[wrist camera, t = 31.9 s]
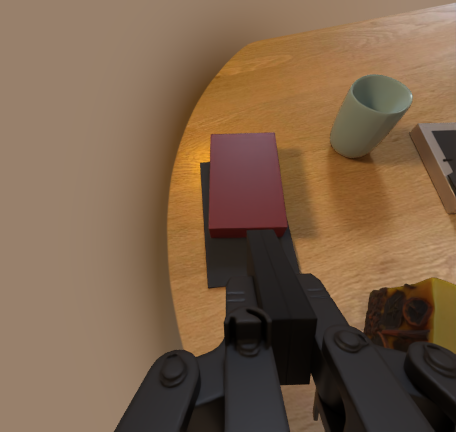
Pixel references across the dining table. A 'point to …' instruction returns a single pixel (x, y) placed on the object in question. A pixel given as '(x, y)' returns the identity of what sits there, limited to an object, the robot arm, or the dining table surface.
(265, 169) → the book
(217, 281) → the mat
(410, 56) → the dining table surface
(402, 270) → the dining table surface
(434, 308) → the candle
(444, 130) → the picture frame
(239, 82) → the dining table surface
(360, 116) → the cup
